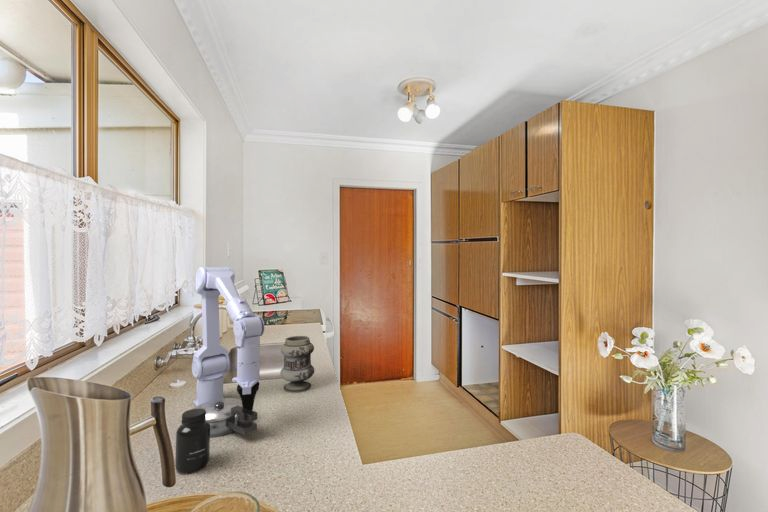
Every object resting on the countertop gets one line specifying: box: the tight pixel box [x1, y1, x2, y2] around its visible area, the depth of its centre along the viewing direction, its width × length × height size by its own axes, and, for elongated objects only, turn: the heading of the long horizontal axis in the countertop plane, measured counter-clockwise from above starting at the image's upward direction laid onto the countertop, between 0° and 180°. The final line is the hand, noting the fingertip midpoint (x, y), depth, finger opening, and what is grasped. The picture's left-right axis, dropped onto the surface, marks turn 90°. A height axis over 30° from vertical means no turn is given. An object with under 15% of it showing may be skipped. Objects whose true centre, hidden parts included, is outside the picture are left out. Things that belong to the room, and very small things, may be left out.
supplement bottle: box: [174, 408, 211, 475], centre depth 79 cm, size 7×7×12 cm
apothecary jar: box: [279, 335, 315, 394], centre depth 127 cm, size 12×12×18 cm
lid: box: [193, 397, 258, 422], centre depth 96 cm, size 21×14×2 cm, turn 60°
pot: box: [209, 414, 258, 438], centre depth 96 cm, size 21×13×7 cm, turn 56°
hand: (248, 411), depth 95 cm, fingers closed
